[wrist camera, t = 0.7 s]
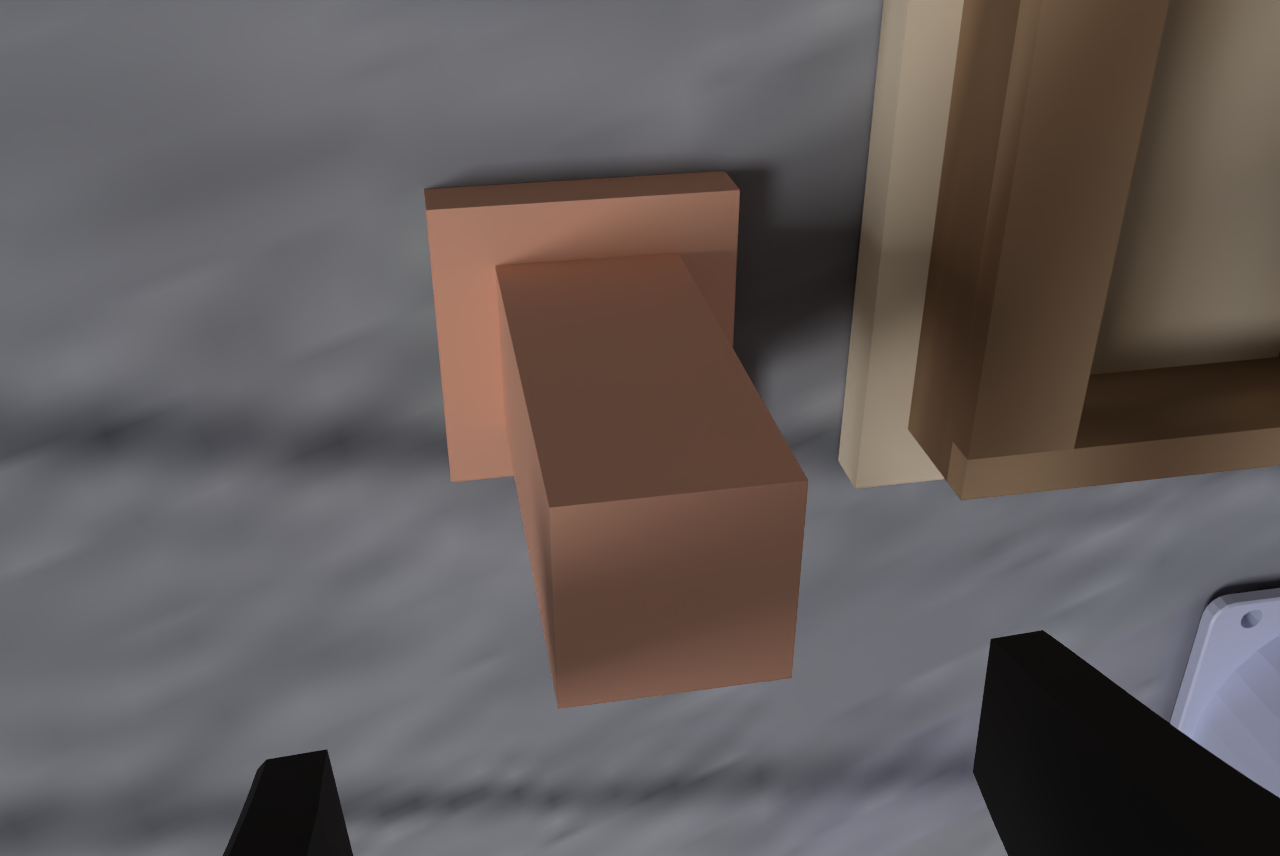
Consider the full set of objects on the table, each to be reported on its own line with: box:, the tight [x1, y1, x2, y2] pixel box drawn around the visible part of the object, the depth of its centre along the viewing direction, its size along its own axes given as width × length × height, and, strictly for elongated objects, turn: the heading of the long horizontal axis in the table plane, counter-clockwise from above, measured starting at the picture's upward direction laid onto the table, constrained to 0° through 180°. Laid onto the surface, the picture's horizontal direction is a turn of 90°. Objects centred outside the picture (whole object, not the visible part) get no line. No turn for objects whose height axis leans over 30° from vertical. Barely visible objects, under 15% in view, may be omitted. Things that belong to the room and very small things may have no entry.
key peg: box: [424, 171, 808, 709], centre depth 18 cm, size 5×5×8 cm
